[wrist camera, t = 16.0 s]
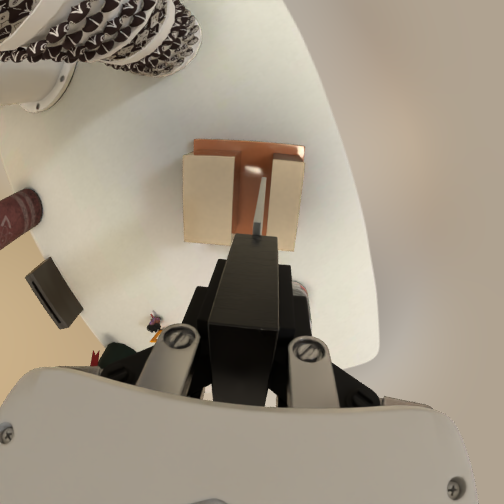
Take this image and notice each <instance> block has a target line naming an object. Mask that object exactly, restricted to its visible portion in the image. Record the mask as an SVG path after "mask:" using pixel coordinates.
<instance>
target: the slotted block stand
mask: <svg viewBox="0 0 504 504" xmlns="http://www.w3.org/2000/svg"><path fill="white" fill-rule="evenodd" d="M304 152H305V146H302V145H293V144H283V143H273V142H261V141H246V140H226V139H194V151H193V152H190V153H188V154H185V155H183V222H184V242H194V243H204V244H215V245H226V246H231V243H232V241H233V238H234V235H235V233H240V234H251V235H252V233H253V221H254V216H255V210H256V205H257V200H258V195H259V189H260V184H261V179H262V177H266V190H265V203H264V215H263V227H262V235H263V236H266V232H267V221H268V210H269V198H270V187H271V175H272V164H273V153H280V154H290V155H299V156H300V157H301V158H302V160H303V161H304Z"/></svg>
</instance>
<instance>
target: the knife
mask: <svg viewBox="0 0 504 504" xmlns="http://www.w3.org/2000/svg"><path fill="white" fill-rule="evenodd" d="M265 190H266V177H262V179H261V184H260V189H259V195H258V200H257V205H256V210H255V216H254V221H253V233H252V235H251V234H240V233H235V236H234V239H233V242H232V245H231V248H230V251H229V255H228V258H227V261H226V264H225V267H224V271H223V274H222V277H221V280H220V283H219V287H218V290H217V293H216V297H215V300H214V303H213V306H212V310H211V313H210V316H209V320H208V340H209V356H210V370H211V383H212V394H213V401H215V402H223V403H231V404H240V405H250V406H262V407H264V406H265V401H266V397H267V392H268V387H269V382H270V376H271V371H272V366H273V361H274V355H275V350H276V344H277V339H278V333H279V278H278V238H277V237H274V236H263V235H262V227H263V215H264V203H265Z"/></svg>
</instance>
